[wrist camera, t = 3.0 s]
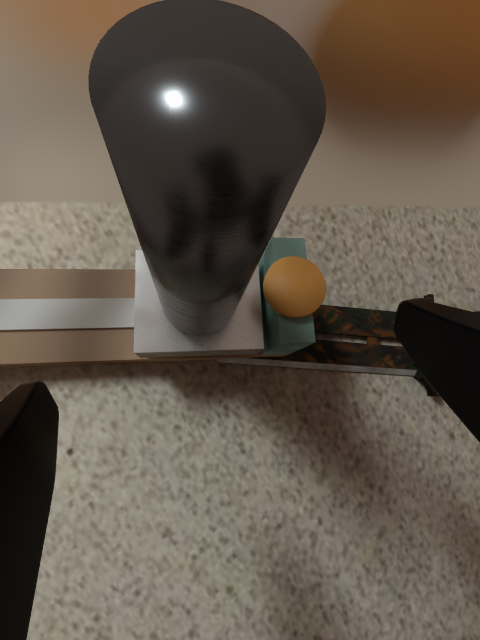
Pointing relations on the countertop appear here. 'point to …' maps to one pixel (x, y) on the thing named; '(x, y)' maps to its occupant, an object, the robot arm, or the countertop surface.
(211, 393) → the countertop surface
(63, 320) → the rail
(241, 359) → the knife
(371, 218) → the countertop surface
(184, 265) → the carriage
